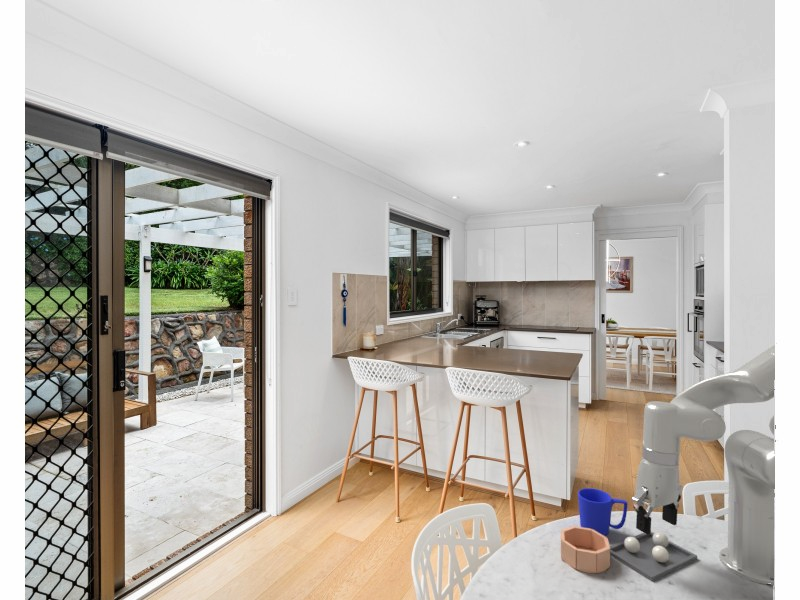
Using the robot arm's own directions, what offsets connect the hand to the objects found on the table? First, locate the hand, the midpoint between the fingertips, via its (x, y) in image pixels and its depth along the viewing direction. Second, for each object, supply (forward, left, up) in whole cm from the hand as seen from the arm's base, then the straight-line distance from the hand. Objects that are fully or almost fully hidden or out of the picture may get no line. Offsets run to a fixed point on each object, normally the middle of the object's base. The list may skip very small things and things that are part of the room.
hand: (656, 526), depth 103 cm
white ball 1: (+2, -5, -8) cm, 10 cm away
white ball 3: (-1, +1, -8) cm, 8 cm away
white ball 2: (-6, -3, -8) cm, 11 cm away
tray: (-1, -2, -9) cm, 9 cm away
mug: (+1, -14, -9) cm, 17 cm away
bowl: (+14, -8, -9) cm, 19 cm away
